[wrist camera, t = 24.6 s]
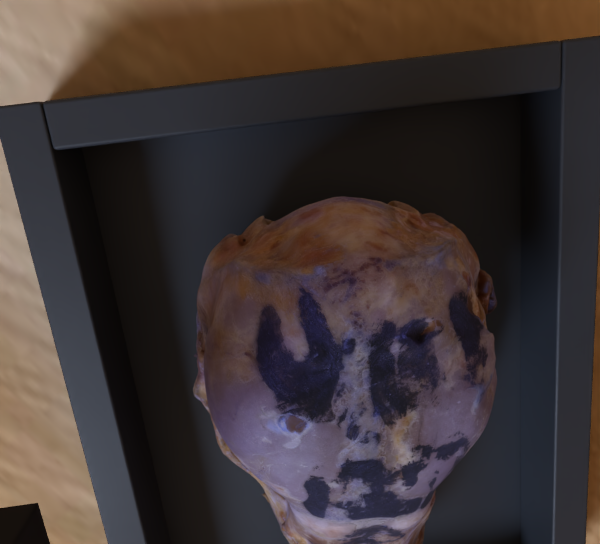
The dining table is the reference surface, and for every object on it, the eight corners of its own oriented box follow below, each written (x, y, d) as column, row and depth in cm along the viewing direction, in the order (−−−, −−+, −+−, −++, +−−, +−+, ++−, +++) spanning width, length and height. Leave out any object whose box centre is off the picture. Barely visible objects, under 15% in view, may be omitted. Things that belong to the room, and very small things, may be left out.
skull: (448, 574, 17) (508, 802, 11) (208, 552, 18) (142, 761, 12) (498, 192, 14) (613, 222, 9) (213, 176, 15) (131, 195, 9)
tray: (547, 48, 14) (609, 34, 12) (539, 570, 19) (582, 640, 16) (39, 108, 14) (-9, 106, 11) (165, 629, 18) (151, 709, 16)
